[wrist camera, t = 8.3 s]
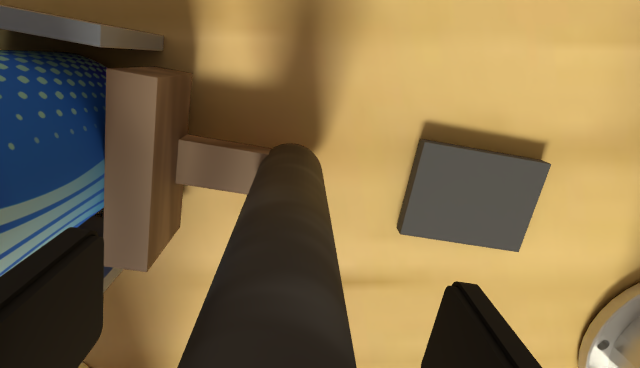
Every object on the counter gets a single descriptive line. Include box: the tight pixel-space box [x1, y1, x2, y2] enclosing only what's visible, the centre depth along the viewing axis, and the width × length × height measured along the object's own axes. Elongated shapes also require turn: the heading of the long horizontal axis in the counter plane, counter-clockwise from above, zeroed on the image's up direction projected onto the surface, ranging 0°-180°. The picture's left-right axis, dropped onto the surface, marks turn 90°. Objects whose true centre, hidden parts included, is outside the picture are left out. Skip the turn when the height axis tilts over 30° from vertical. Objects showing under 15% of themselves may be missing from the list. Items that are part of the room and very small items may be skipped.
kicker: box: [103, 66, 356, 368], centre depth 13 cm, size 10×9×19 cm
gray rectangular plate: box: [397, 139, 551, 252], centre depth 24 cm, size 8×6×1 cm
